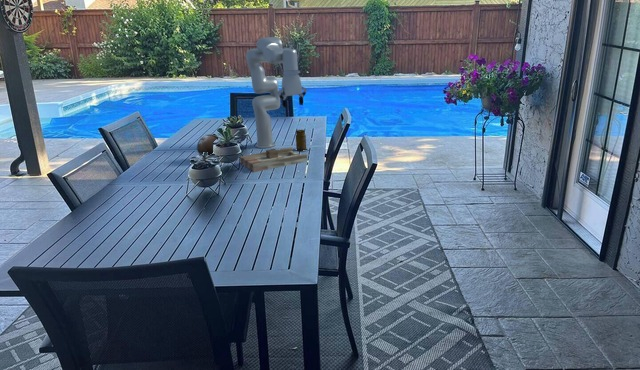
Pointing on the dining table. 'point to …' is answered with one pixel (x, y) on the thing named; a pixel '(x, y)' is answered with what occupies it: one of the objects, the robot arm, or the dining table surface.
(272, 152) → the walnut block
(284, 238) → the dining table surface
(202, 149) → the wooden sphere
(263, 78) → the robot arm
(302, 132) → the condiment
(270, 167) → the trap track
